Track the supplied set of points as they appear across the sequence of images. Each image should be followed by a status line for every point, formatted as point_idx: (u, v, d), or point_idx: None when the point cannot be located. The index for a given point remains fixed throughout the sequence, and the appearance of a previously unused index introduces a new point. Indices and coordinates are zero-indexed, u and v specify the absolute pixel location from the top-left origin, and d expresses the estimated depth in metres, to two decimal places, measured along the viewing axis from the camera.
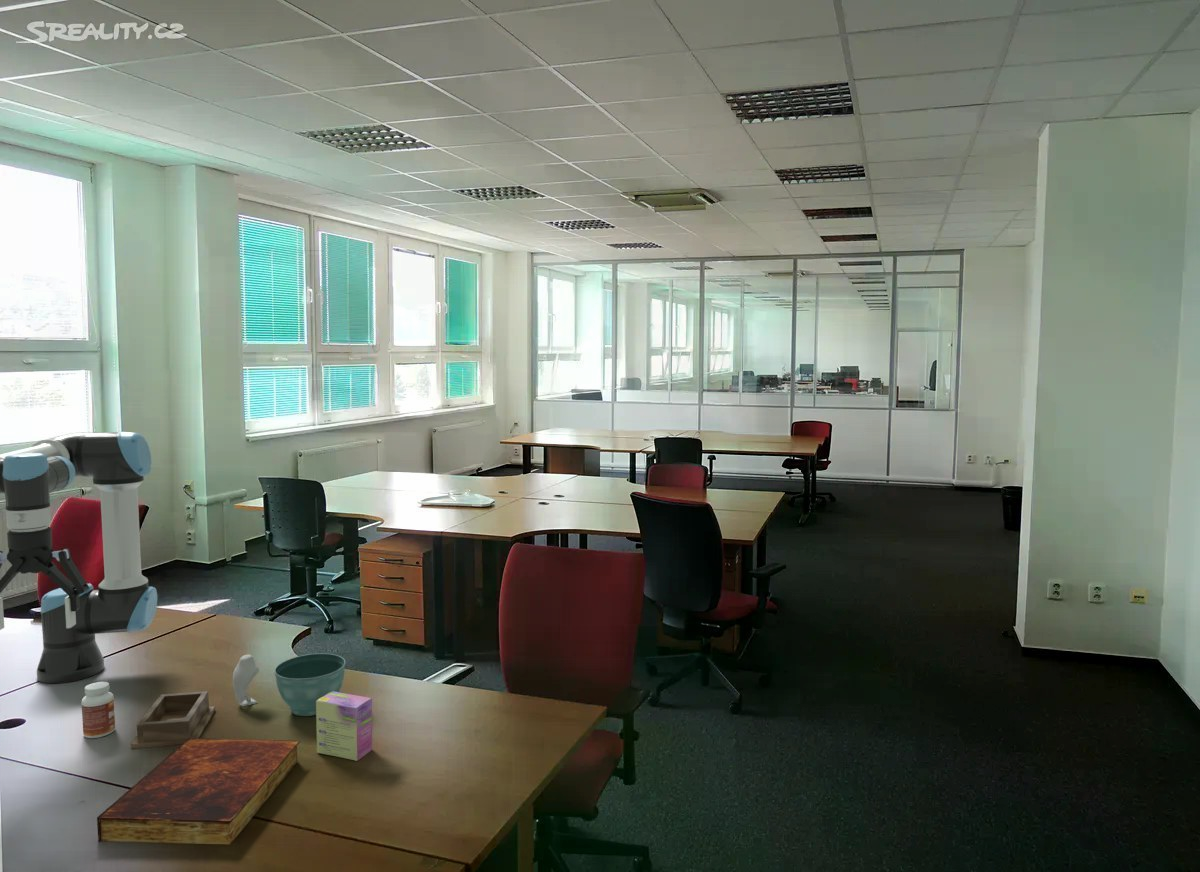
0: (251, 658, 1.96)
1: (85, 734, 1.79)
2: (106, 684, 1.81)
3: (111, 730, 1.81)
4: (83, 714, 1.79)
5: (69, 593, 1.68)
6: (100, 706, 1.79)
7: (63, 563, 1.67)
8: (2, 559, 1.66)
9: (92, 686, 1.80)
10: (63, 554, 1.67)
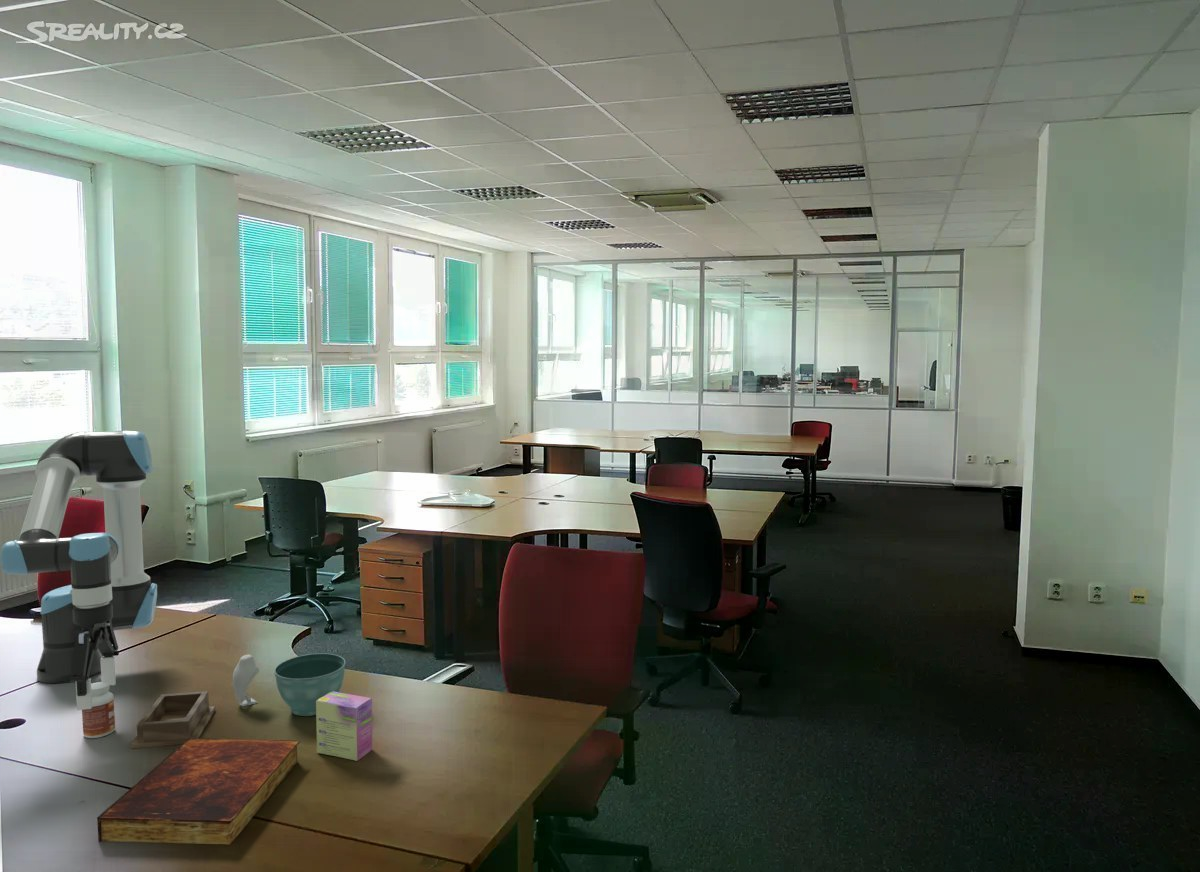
0: (251, 658, 1.96)
1: (85, 734, 1.79)
2: (106, 684, 1.81)
3: (111, 730, 1.81)
4: (83, 714, 1.79)
5: None
6: (100, 706, 1.79)
7: None
8: None
9: (92, 686, 1.80)
10: None
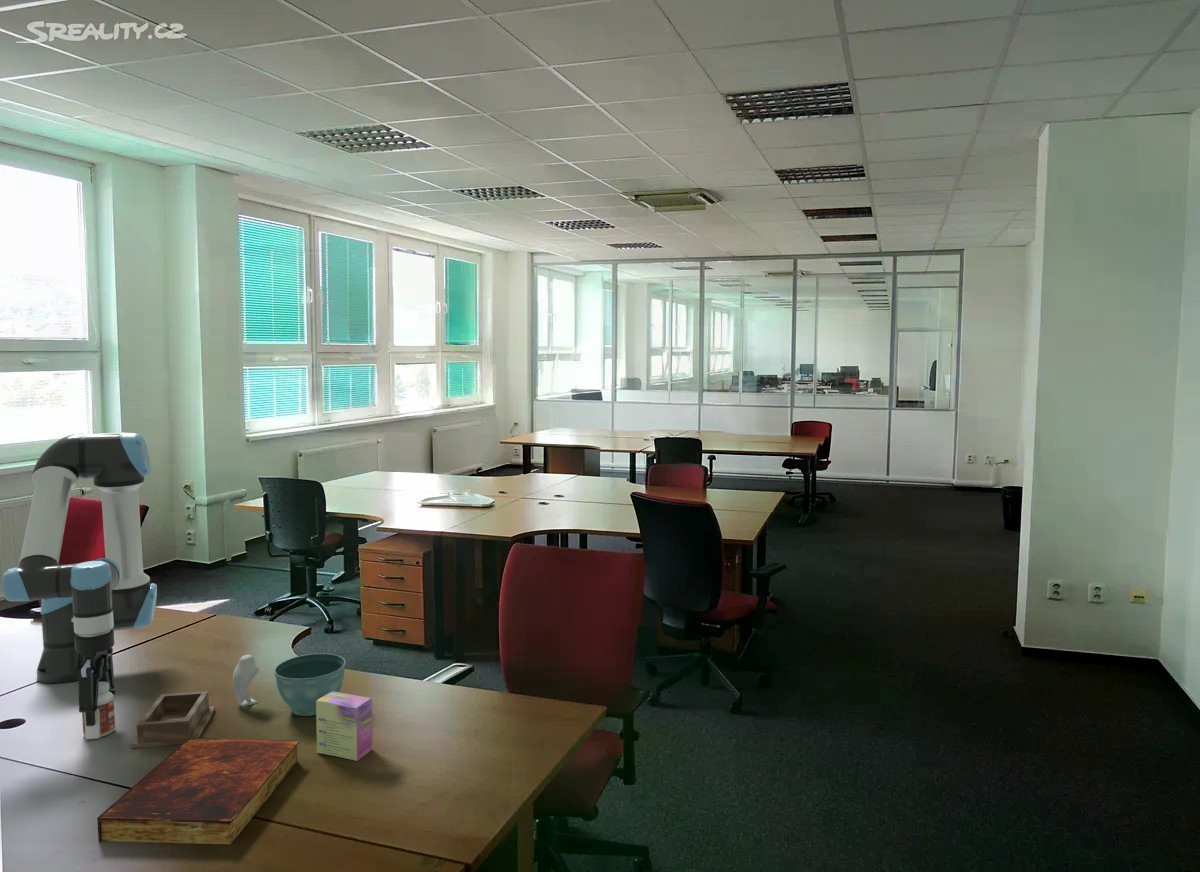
0: (251, 658, 1.96)
1: None
2: (106, 684, 1.81)
3: (111, 730, 1.81)
4: (83, 714, 1.79)
5: None
6: (100, 706, 1.79)
7: None
8: None
9: None
10: None
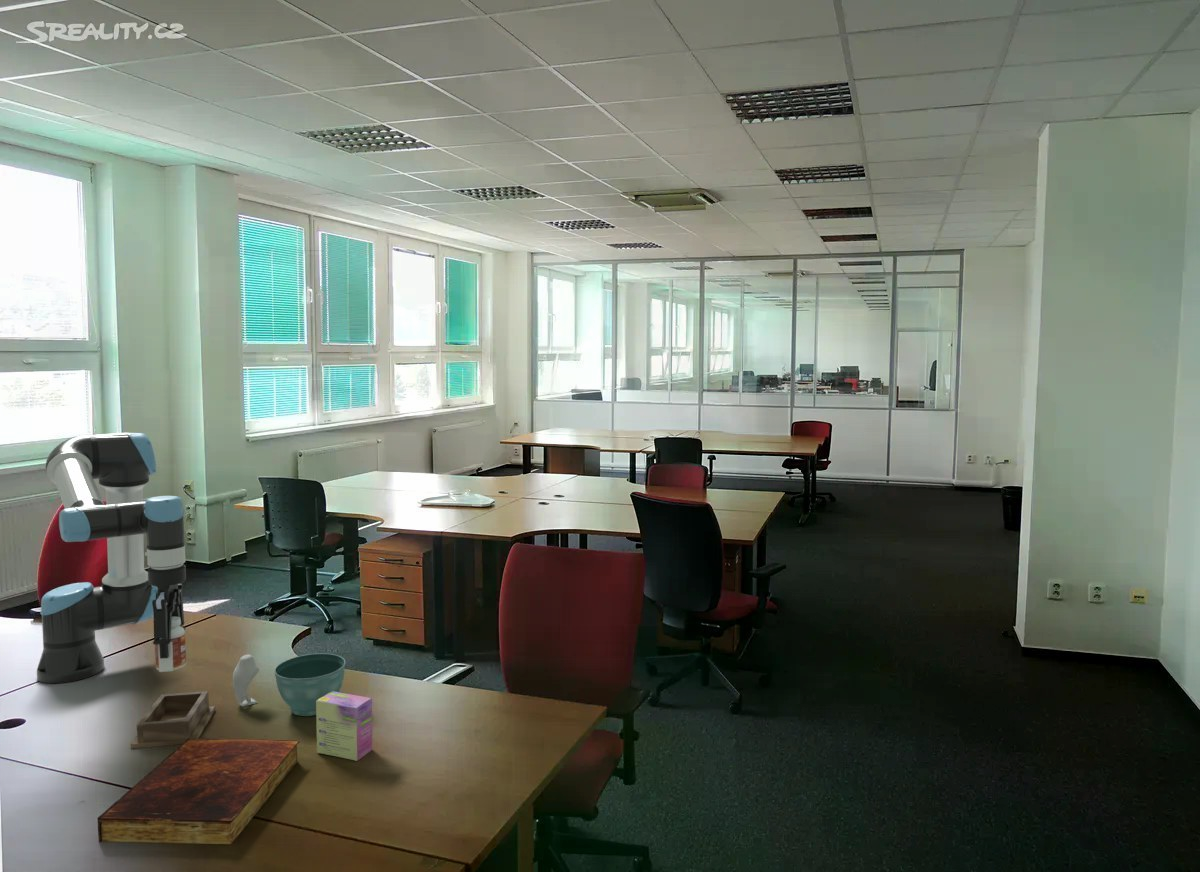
0: (251, 658, 1.96)
1: (158, 667, 1.80)
2: (178, 618, 1.82)
3: (183, 664, 1.82)
4: (156, 647, 1.79)
5: None
6: (173, 639, 1.79)
7: None
8: None
9: None
10: None
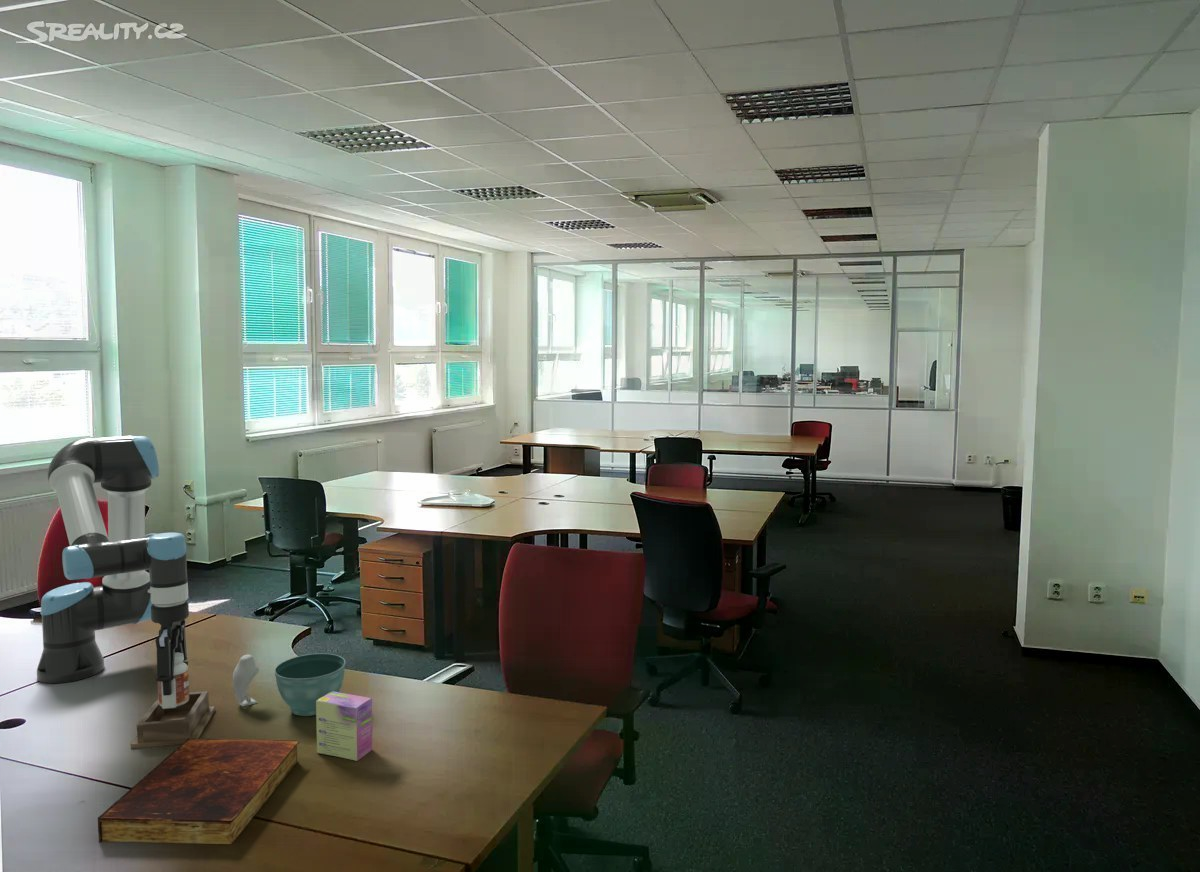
0: (251, 658, 1.96)
1: (161, 704, 1.81)
2: (181, 654, 1.83)
3: (186, 700, 1.83)
4: (159, 684, 1.80)
5: None
6: (176, 676, 1.80)
7: None
8: None
9: None
10: None
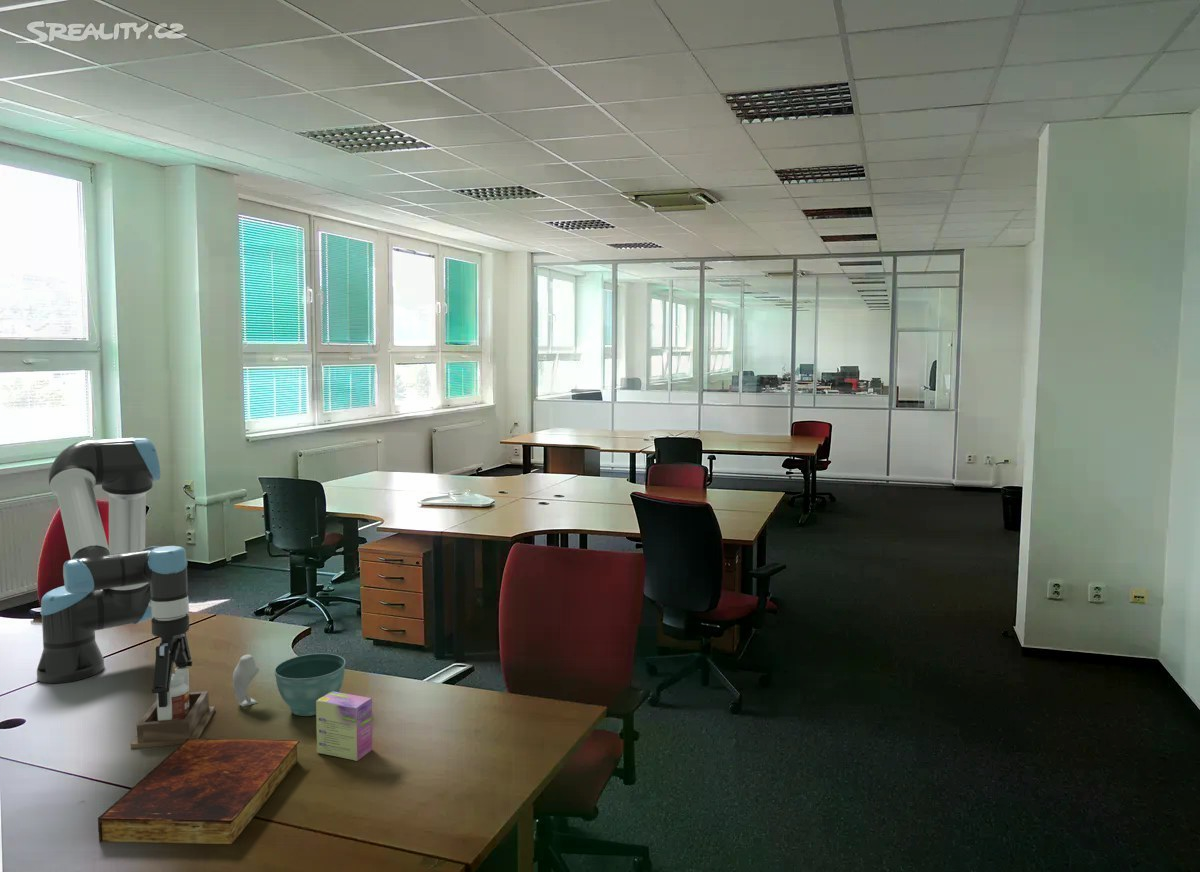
0: (251, 658, 1.96)
1: None
2: (182, 675, 1.84)
3: None
4: None
5: None
6: (177, 697, 1.81)
7: None
8: None
9: None
10: None
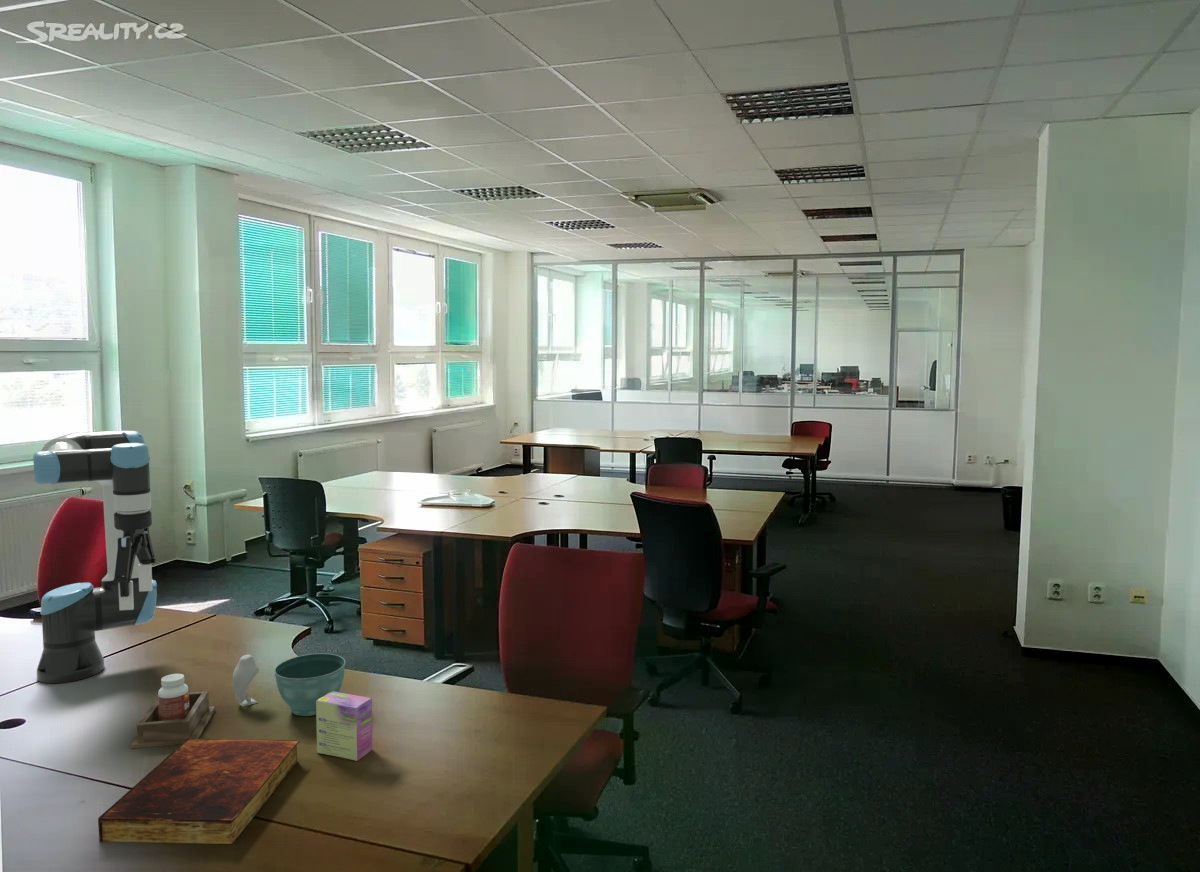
0: (251, 658, 1.96)
1: None
2: (181, 676, 1.83)
3: None
4: (160, 705, 1.81)
5: None
6: (177, 698, 1.81)
7: None
8: None
9: (168, 678, 1.82)
10: None
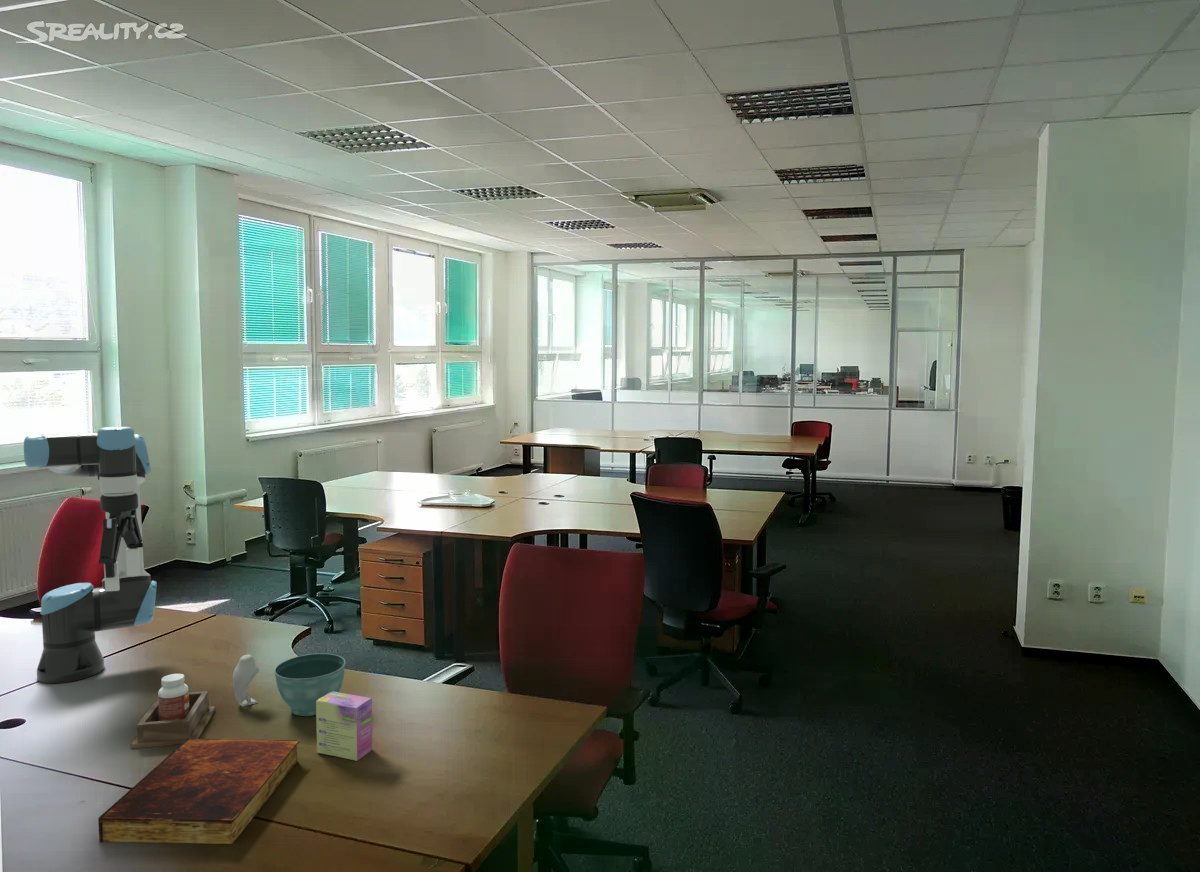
0: (251, 658, 1.96)
1: None
2: (182, 676, 1.83)
3: None
4: (160, 705, 1.81)
5: None
6: (177, 698, 1.81)
7: None
8: None
9: (168, 678, 1.82)
10: None
